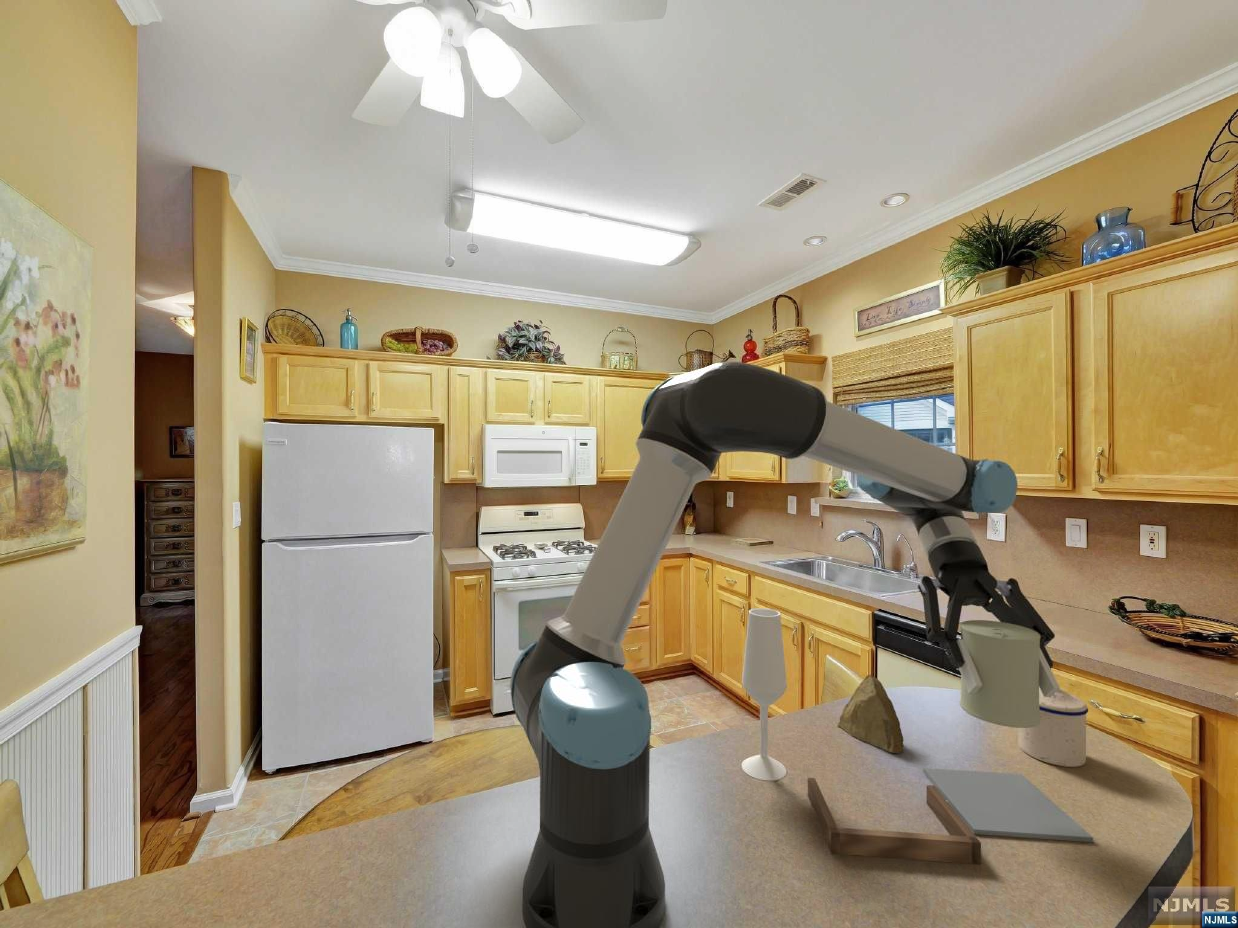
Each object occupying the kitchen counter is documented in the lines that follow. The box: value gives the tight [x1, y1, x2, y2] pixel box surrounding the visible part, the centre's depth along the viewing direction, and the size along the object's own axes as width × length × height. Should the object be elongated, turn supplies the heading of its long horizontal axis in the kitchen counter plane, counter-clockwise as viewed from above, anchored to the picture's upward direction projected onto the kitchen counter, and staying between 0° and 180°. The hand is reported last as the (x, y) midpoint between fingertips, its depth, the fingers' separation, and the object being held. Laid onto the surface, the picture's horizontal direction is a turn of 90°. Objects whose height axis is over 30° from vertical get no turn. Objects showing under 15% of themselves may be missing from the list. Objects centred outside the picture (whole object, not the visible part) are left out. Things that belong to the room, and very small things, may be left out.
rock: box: [836, 674, 904, 754], centre depth 93 cm, size 11×9×10 cm
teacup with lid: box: [1017, 683, 1089, 768], centre depth 90 cm, size 12×9×12 cm
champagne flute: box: [741, 607, 788, 782], centre depth 84 cm, size 7×7×24 cm
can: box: [959, 619, 1041, 729], centre depth 75 cm, size 9×9×12 cm
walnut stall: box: [807, 777, 982, 865], centre depth 70 cm, size 17×12×2 cm
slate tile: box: [922, 767, 1094, 843], centre depth 75 cm, size 14×14×1 cm
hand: (1013, 690), depth 72 cm, fingers closed on can, 9 cm apart
